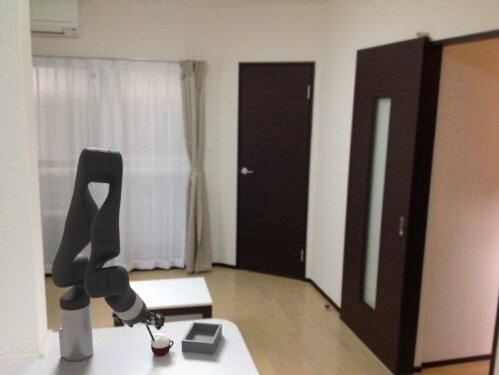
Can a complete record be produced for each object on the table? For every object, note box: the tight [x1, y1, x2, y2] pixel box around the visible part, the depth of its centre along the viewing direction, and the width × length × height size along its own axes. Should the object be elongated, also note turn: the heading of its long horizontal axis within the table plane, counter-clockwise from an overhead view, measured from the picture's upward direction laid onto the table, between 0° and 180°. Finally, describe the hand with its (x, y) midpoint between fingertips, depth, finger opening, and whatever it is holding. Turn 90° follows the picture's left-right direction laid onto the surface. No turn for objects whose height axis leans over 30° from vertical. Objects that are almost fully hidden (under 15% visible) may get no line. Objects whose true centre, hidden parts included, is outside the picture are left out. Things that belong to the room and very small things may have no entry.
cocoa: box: [145, 325, 174, 357], centre depth 154 cm, size 10×6×12 cm, turn 102°
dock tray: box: [181, 321, 223, 356], centre depth 161 cm, size 11×14×4 cm
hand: (145, 325), depth 141 cm, fingers open, 8 cm apart
